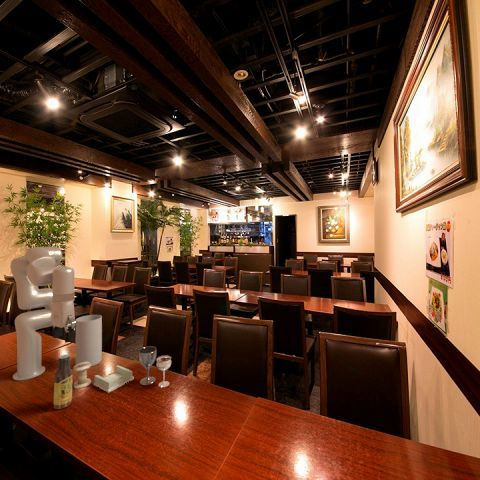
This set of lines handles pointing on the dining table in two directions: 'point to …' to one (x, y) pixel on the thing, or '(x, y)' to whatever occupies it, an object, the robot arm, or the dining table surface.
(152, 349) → the wine glass
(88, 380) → the bobbin
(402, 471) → the dining table surface
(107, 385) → the notched board
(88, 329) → the cylinder vase
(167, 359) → the wineglass
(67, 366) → the sauce bottle
